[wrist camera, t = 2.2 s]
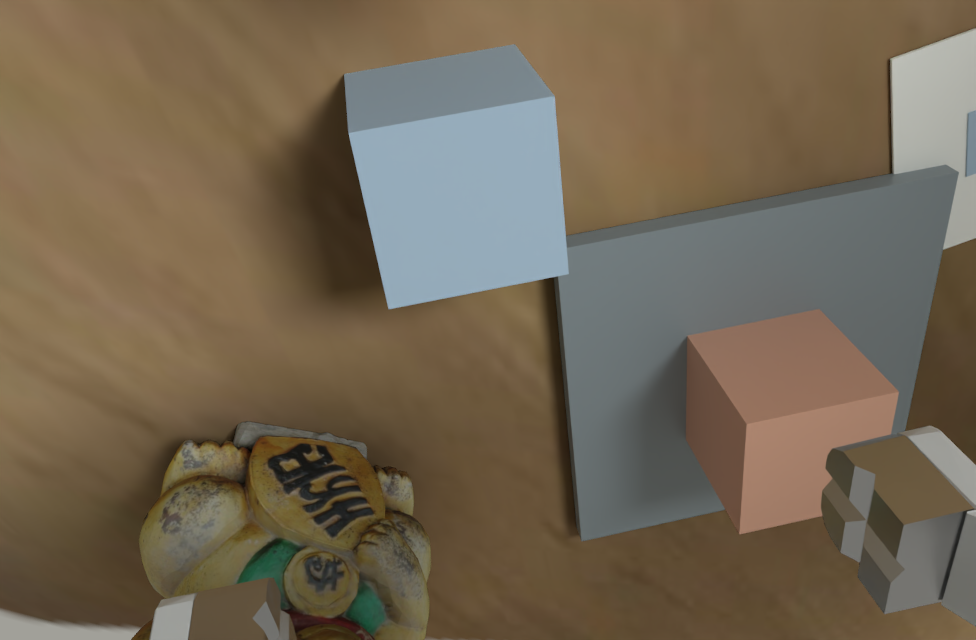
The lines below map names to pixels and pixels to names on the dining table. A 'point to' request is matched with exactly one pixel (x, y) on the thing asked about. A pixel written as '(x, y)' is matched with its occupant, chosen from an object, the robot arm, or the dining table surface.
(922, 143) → the page
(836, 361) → the base brick
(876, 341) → the plate
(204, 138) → the dining table surface
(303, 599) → the decorative figurine
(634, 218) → the dining table surface
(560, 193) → the blue brick
